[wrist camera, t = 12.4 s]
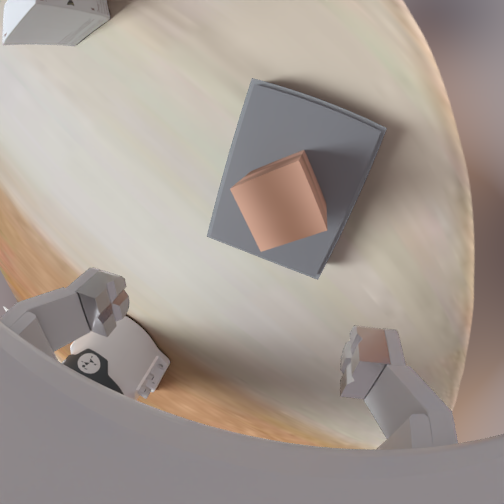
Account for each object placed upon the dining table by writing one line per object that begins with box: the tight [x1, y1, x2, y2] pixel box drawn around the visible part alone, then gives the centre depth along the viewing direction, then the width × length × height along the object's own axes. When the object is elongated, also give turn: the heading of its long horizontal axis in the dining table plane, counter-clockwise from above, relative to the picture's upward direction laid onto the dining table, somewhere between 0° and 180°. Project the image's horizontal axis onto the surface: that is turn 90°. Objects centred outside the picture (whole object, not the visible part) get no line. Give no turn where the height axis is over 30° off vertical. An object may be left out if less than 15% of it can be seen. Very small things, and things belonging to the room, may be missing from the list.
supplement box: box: [3, 0, 110, 46], centre depth 16 cm, size 7×7×13 cm
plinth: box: [207, 78, 387, 280], centre depth 25 cm, size 16×12×4 cm
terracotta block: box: [230, 150, 327, 252], centre depth 21 cm, size 5×5×6 cm
